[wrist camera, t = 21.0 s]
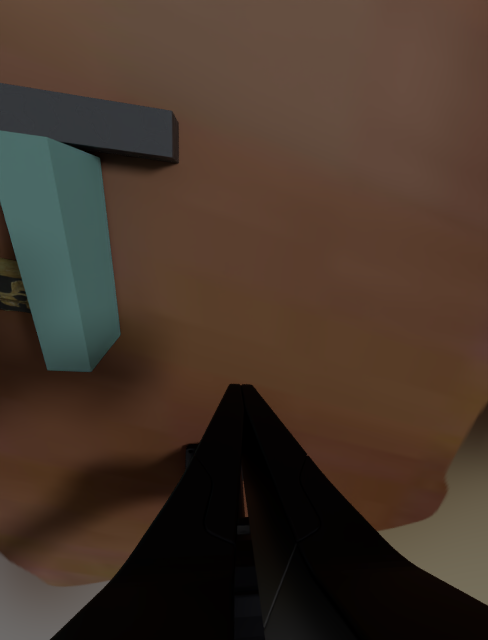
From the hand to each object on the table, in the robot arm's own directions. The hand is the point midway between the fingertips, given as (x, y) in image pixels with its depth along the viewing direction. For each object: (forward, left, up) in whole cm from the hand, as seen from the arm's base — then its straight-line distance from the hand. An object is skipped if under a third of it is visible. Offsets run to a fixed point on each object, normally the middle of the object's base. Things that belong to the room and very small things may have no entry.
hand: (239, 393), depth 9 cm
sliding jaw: (+2, +10, -11) cm, 15 cm away
